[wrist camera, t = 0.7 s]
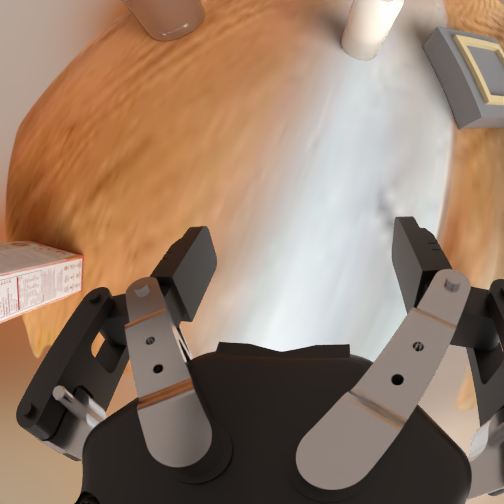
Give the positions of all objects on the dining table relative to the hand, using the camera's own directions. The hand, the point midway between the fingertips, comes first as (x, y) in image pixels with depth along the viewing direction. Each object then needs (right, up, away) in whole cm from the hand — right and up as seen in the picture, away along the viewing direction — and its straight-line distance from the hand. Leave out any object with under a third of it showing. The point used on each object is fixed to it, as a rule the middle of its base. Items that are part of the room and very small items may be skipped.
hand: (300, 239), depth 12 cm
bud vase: (+13, +28, +17) cm, 35 cm away
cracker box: (-33, -3, +25) cm, 42 cm away
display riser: (+32, +25, +15) cm, 43 cm away
